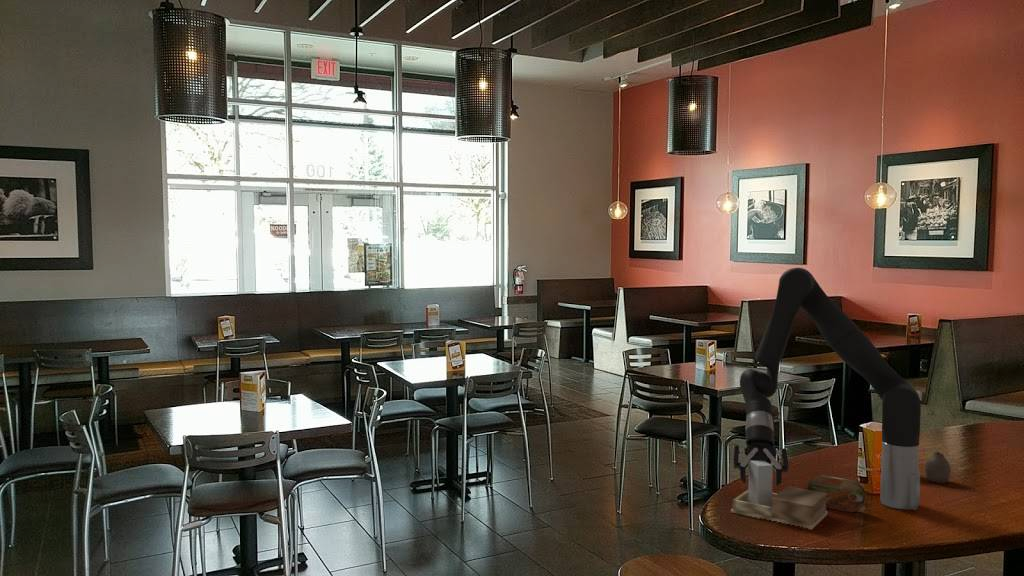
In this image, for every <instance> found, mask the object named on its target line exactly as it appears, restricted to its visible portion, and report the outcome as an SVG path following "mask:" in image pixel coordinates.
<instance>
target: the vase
mask: <svg viewBox="0 0 1024 576" xmlns="http://www.w3.org/2000/svg"><path fill="white" fill-rule="evenodd" d="M924 472H925V476H926V477H927V479H928V480H929V482H931V481H932V482H931V483H934V482H936V483H935V484H945V482H946V483H947V482H948V481H949V480H950V478H951V474H952V468H951V464H950V462H949V460H948V459H946V457H945V456H944V454H943V452H938V451H934V452H933V454H932V455H931V456H930V457H929V458H928V459H927V461H926V462H925V466H924Z"/></svg>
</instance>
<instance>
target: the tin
mask: <svg viewBox="0 0 1024 576" xmlns="http://www.w3.org/2000/svg"><path fill="white" fill-rule="evenodd" d="M807 490H812V491H817V492H823V493H827V496H826V509H832V510H837V511H843V512H845V513H846V512H847V513H854V512H855V513H856V512H859V510H861V509H862V508H863V507H864V506H865V504H866V502H867V492H866V490H865V488H864V486H863V485H861V483H859V482H858V481H856V480H853V479H848V478H842V477H835V476H830V475H824V474H822V475H817V476H814V477H812V478H811V479H810V480H809V482H808V484H807Z"/></svg>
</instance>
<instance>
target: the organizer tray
mask: <svg viewBox="0 0 1024 576" xmlns="http://www.w3.org/2000/svg"><path fill="white" fill-rule="evenodd" d="M748 495H749V488H747V489H746V490H744V491H743V492H741V494H739V495H737V496H735V498H733V499H732V508H731V509H730V513H732V514H737V515H741V516H746V517H750V516H751V517H750V518H755V517H756V519H760V518H761V520H764V519H766V521H769V520H771V521H770V522H773V521H777V522H776V523H778V522H782V523H781V524H783V523H786V524H785V525H787V524H791V525H790V526H792V525H795V526H794V527H797V526H800V527H799V528H801V527H803V528H802V529H806V528H808V529H807V530H813V529H814V528H815V527H816V526H817V525H818V524H819V523H821V521H822V520H823V519H824V518H825V517H827V515H828V511H827V507H826V496H827V493H823V492H817V491H812V490H807V489H805V488H799V487H794V486H789V485H787V486H786V487H784V488H783V489H782V490H780V491H779V492H778V493H775V492H772V498H771V501H772V506H770V507H769V506H764V505H759V504H755V503H750V502H748Z"/></svg>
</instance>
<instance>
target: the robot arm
mask: <svg viewBox="0 0 1024 576" xmlns="http://www.w3.org/2000/svg"><path fill="white" fill-rule="evenodd" d="M777 286H778V287H777V292H776V298H775V302H774V306H773V310H772V312H771V315H770V316H771V317H770V318H769V321H768V324H767V326H766V328H765V331H764V333H763V336H762V338H761V340H760V344H759V346H758V349H757V351H756V354H755V361H756V362H757V363H758V364H760V365H762V366H764V367H765V368H766V372H764V371H763V372H762V371H759V370H757V369H752V368H747V369H745V370H744V371H743V372H742V373H741V375H740V377H739V388H740V391H741V394H742V397H743V399H744V403H745V409H746V414H745V415H746V420H745V447H740V446H739V445H738V444H736V445H734V448H733V451H734V452H733V463H732V464H733V465H732V467H733V469H738V470H739V479H740V481H741V482H742V483H743V484H746V481H747V478H746V477H747V475H746V474H747V473H746V472H747V471H746V469H748V468H749V461H750V460H757V461H766V462H767V463H769V464H771V465H773V470H774V471H775V486H778V487H779V486H780V485H781V484H782V482H783V478H782V477H783V475H782V473H788V471H789V459H788V453H787V449H786V448H784V447H783V448H782V449H776V448H775V432H774V431H775V429H774V421H773V420H774V419H773V409H772V408H773V405H772V402H771V400H770V399H769V398H771V397H773V396H774V395H775V393H776V392H777V389H778V380H779V370H780V364H781V361H782V358H783V356H784V353H785V350H786V349H787V346H788V341H789V339H790V335H791V330H792V326H793V324H794V321H795V317H796V315H797V313H798V311H799V309H800V308H802V309H803V310H804V312H806V314H808V316H809V317H810V318H811V319H812V321H813V323H814V324H815V326H816V328H817V329H818V331H819V332H820V334H821V336H822V337H823V339H824V340H825V341H826V343H827V344H828V345H829V347H830V348H831V349H832V350H833V351H834V352H835V354H836V355H837V356H838V357H839V358H840V359H841V360H842V361H843V362H844V363H846V365H848V366H849V367H850V368H851V369H852V370H854V371H855V372H856V373H858V374H859V375H860V376H862V377H863V379H864V380H866V381H867V383H868V384H869V385H870V386H871V387H872V388H873V390H874V391H875V393H876V394H877V395H878V397H879V399H880V400H881V401H882V402H881V403H882V404H881V406H882V407H881V430H882V453H881V473H880V493H879V494H880V499H879V500H880V502H879V503H881V504H882V505H884V506H886V507H888V508H892V509H897V510H913V511H916V510H917V509H918V507H919V506H920V503H921V502H920V501H921V500H920V499H921V497H920V495H921V470H920V469H919V467H920V466H919V465H920V439H921V414H922V411H921V405H922V404H921V398H920V395H919V393H918V391H917V390H916V388H915V387H914V386H913V385H911V384H910V383H909V382H907V381H906V379H904V378H903V377H902V376H901V375H900V374H898V373H897V372H896V370H894V369H893V368H892V367H891V365H890V364H889V363H888V362H887V361H886V360H885V358H884V357H883V355H882V354H881V353H880V351H879V350H878V349H877V347H876V346H875V344H874V343H873V342H872V341H871V340H870V339H869V337H868V336H867V335H866V333H864V332H863V330H862V329H861V328H860V327H859V326H858V325H857V323H855V322H854V321H853V320H852V319H851V318H850V317H849V316H848V315H847V314H846V313H845V312H844V311H843V310H842V309H841V308H839V307H838V306H837V305H836V304H835V303H834V302H833V301H832V300H831V298H830V297H829V296H828V295H827V294H826V292H825V291H824V289H823V288H822V287H821V286H820V284H819V283H818V281H817V280H816V279H815V277H814V276H813V274H812V273H811V272H810V271H809V270H808V269H806V268H804V267H793V268H789V269H787V270H786V271H784V272H783V273H782V274H781V276H780V277H779V280H778V285H777ZM743 453H744V455H745V457H744V460H742V462H739V457H740V456H742V455H743ZM776 456H778V458H779V459H781V462H782V465H781V464H780V463H779V462H778V461H777V459H776V458H775V457H776Z"/></svg>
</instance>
